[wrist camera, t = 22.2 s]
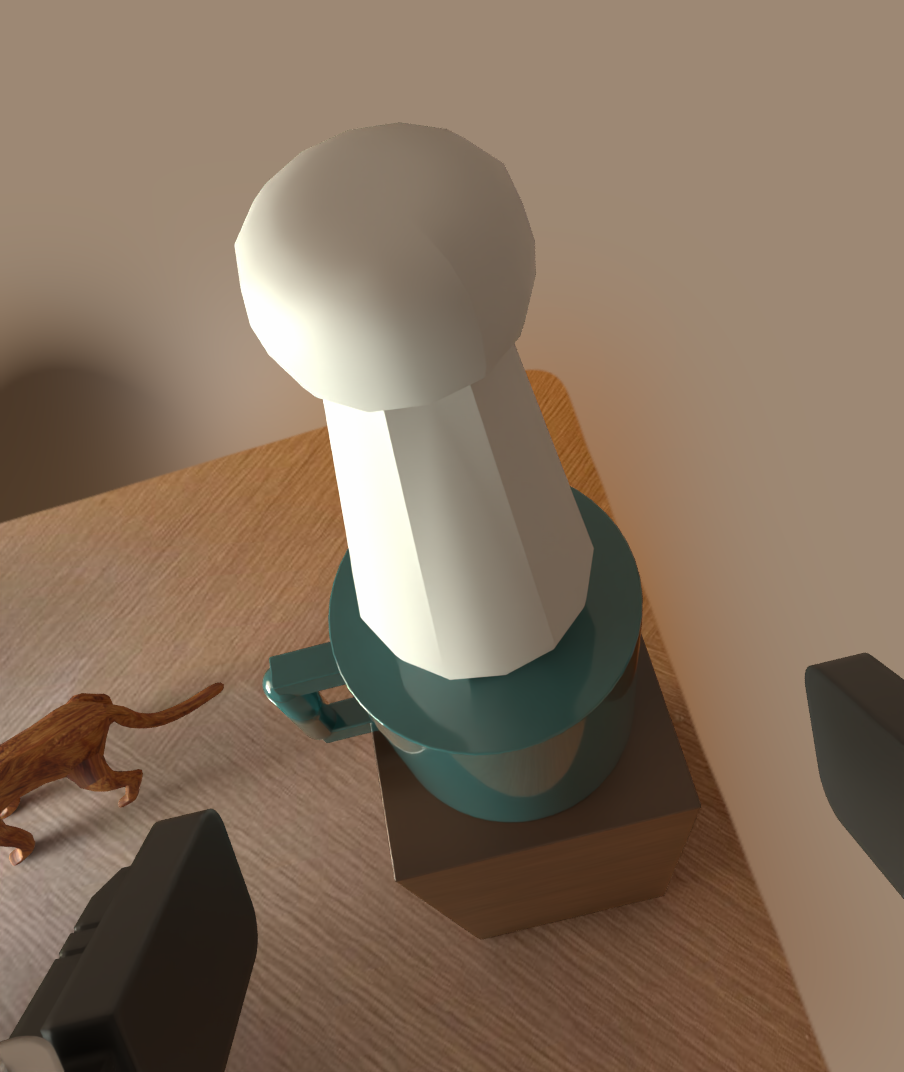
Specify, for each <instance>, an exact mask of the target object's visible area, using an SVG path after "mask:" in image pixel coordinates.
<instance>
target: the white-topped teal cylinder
mask: <svg viewBox="0 0 904 1072" xmlns="http://www.w3.org/2000/svg"><path fill="white" fill-rule="evenodd" d="M570 488H571V491H572V493H573V496H574V499H575V501H576V504H577V506H578V509H579V511H580V514H581V517H582V519H583V522H584V524H585V527H586V529H587V532H588V535H589V537H590V540H591V542H592V545H593V548H594V550H593V557H592V564H591V571H590V578H589V584H588V591H587V598H586V602H585V606H584V608H583V609H582V611H581V612H580V613H579V615H578V616H577V618H576V619H575V620H574V622H573V623H572V624H571V626H570V627H569V629H568V630H567V631H566V633H565V634H564V636H563V637H562V638H561V640H560V641H559V642H558V644H557V645H556V647H555V648H554V649H553V650H551V651H549V652H548V653H546V654H544V655H542V656H540V657H538V658H536V659H535V660H533V661H531V662H529V663H527V664H525V665H523V666H522V667H520V668H518V669H516V670H514V671H512V672H510V673H508V674H507V675H500V676H489V677H477V678H465V679H454V680H449V679H447V678H444V677H442V676H439V675H437V674H434V673H432V672H430V671H427V670H425V669H422V668H420V667H417V666H415V665H412V664H410V663H407V662H405V661H403V660H401V659H400V658H399V657H397V656H396V655H395V654H394V653H393V652H392V651H391V650H390V649H389V648H388V647H387V645H386V644H385V643H384V642H383V641H382V640H381V639H380V638H379V637H378V636H377V635H376V634H375V632H374V631H373V630H372V629H371V628H370V627H369V626H368V625H367V624H366V623H365V622H364V620H363V619H362V618H361V616H360V611H359V605H358V600H357V595H356V589H355V584H354V578H353V573H352V566H351V559H350V553H349V548H348V549H347V551H346V553H345V555H344V557H343V559H342V561H341V563H340V565H339V568H338V571H337V574H336V577H335V580H334V582H333V587H332V592H331V596H330V602H329V615H328V623H329V638H330V642H327V643H323V644H319V645H316V646H312V647H308V648H304V649H300V650H296V651H292V652H288V653H284V654H280V655H276V656H272V657H270V658H269V663H270V668H269V669H268V670H267V671H266V673H265V675H264V677H263V681H262V685H263V690H264V693H265V694H266V696H267V697H268V698H269V699H270V700H271V701H272V702H273V703H274V704H275V705H276V706H277V707H278V708H279V709H280V710H281V711H282V712H283V713H284V714H285V715H286V716H287V717H288V718H289V719H290V720H291V721H292V722H293V723H294V724H296V725H297V726H298V727H299V728H300V729H301V730H302V731H303V732H304V733H305V734H306V735H307V736H308V737H310V738H312V739H315V740H322V739H323V740H324V741H325V742H326V743H330V742H334V741H338V740H342V739H346V738H350V737H354V736H358V735H362V734H366V733H370V732H374V731H378V730H380V731H381V733H382V734H383V735H384V736H385V738H386V739H387V740H388V742H389V743H390V744H391V746H392V747H393V748H394V749H395V751H396V752H397V753H398V755H399V756H400V757H401V759H402V760H403V761H404V763H405V764H406V765H407V766H408V768H409V769H410V770H411V772H412V773H413V774H414V776H415V777H416V778H417V779H418V781H419V782H420V783H421V784H422V785H423V786H424V787H425V788H426V789H427V790H428V791H429V792H430V793H431V794H433V795H434V796H435V797H437V798H438V799H439V800H441V801H442V802H443V803H445V804H447V805H448V806H450V807H452V808H454V809H456V810H457V811H460V812H462V813H465V814H467V815H470V816H473V817H476V818H480V819H485V820H489V821H497V822H526V821H531V820H537V819H542V818H545V817H548V816H551V815H555V814H557V813H560V812H562V811H564V810H566V809H568V808H570V807H572V806H574V805H575V804H577V803H578V802H580V801H582V800H583V799H585V798H586V797H587V796H589V795H590V794H591V793H592V792H593V791H594V790H595V789H597V788H598V787H599V786H600V785H601V784H602V783H603V781H604V780H605V779H606V778H607V777H608V776H609V775H610V773H611V772H612V771H613V769H614V767H615V766H616V764H617V763H618V761H619V760H620V758H621V756H622V754H623V752H624V749H625V747H626V745H627V742H628V739H629V736H630V733H631V730H632V724H633V718H634V711H635V698H636V686H637V674H638V662H639V649H640V637H641V625H642V603H643V596H642V588H641V580H640V575H639V572H638V568H637V565H636V561H635V558H634V556H633V554H632V551H631V549H630V547H629V545H628V543H627V541H626V539H625V538H624V536H623V535H622V533H621V531H620V530H619V528H618V527H617V525H616V524H615V523H614V522H613V521H612V520H611V518H610V517H609V516H608V515H607V514H606V513H605V512H604V511H603V510H602V509H601V508H600V507H599V506H598V505H597V504H596V503H594V502H593V501H592V500H591V499H589V498H588V497H587V496H585V495H584V494H582V493H581V492H579V491H578V490H576V489H575V488H573V487H571V486H570ZM345 684H346V685H347V687H348V689H349V691H350V692H351V693H352V695H353V696H354V697H353V698H349V699H345V700H342V701H338V702H334V703H330V704H329V703H328V701H327V700H326V699H325V698H324V697H323V696H322V694H321V693H320V692H319V691H321V690H325V689H329V688H333V687H337V686H341V685H345Z"/></svg>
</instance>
